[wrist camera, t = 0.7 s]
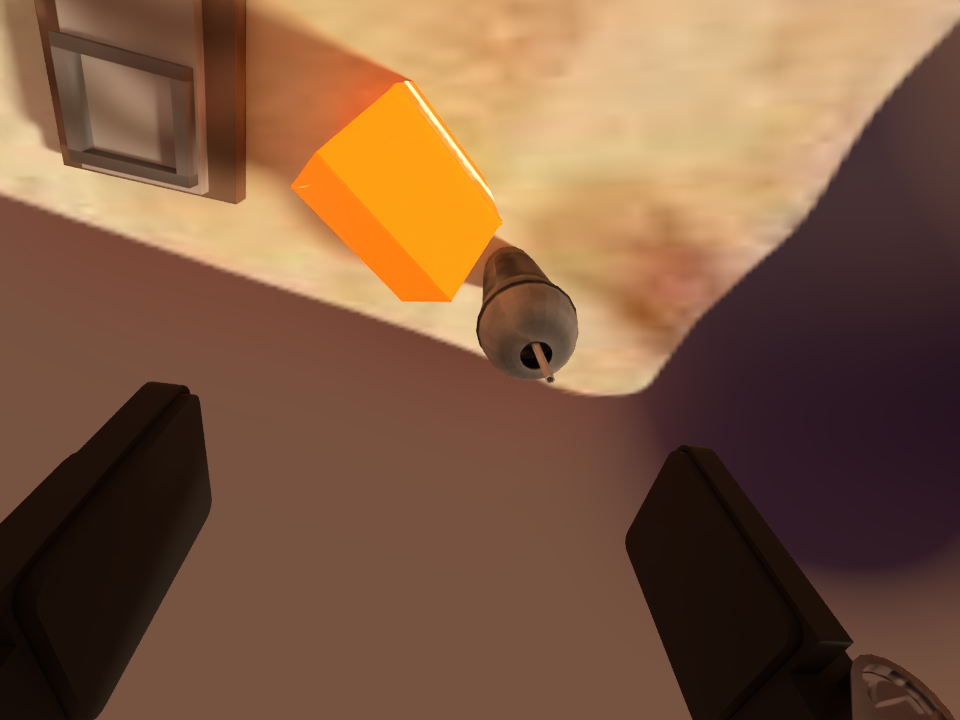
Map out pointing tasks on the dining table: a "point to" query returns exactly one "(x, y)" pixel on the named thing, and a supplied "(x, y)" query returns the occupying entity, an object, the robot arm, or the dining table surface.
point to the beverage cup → (524, 318)
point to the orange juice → (403, 196)
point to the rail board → (151, 90)
